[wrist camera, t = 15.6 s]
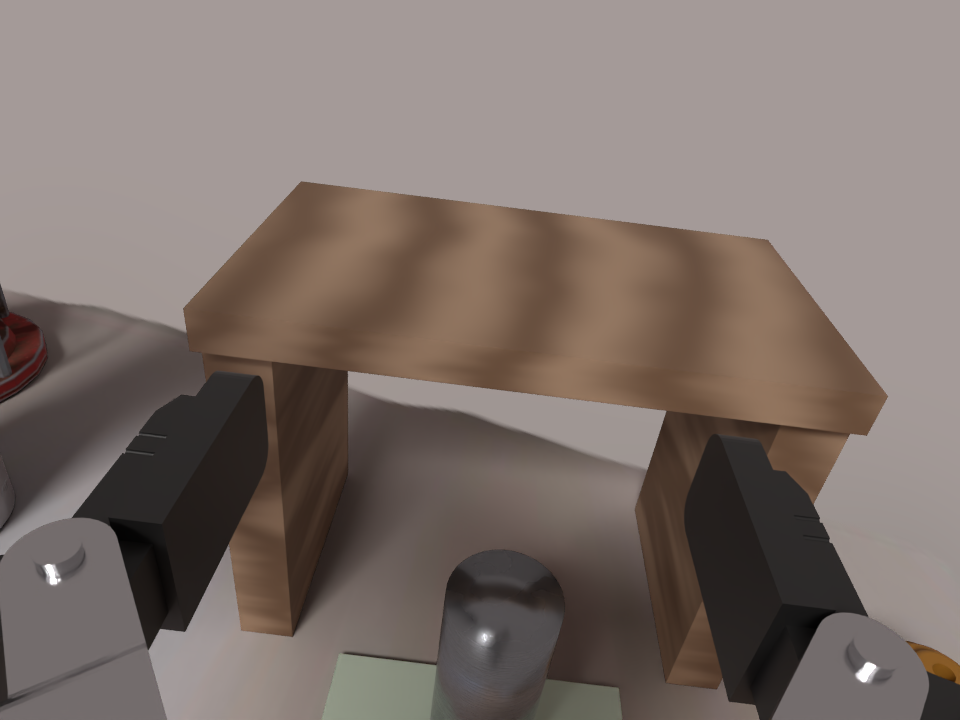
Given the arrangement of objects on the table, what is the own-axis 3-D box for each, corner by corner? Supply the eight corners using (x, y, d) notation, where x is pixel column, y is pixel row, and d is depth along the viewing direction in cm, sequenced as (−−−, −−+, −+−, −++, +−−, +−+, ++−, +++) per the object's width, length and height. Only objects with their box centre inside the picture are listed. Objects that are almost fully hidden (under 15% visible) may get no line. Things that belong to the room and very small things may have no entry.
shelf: (235, 645, 38) (182, 308, 26) (312, 460, 52) (301, 181, 40) (720, 705, 38) (888, 396, 26) (671, 504, 52) (767, 239, 40)
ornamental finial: (790, 773, 36) (816, 668, 41) (947, 869, 33) (952, 742, 38) (851, 687, 31) (870, 583, 37) (1039, 790, 28) (1030, 659, 34)
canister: (421, 790, 32) (439, 644, 26) (433, 691, 37) (451, 543, 30) (523, 802, 32) (567, 659, 26) (523, 701, 37) (562, 556, 30)
